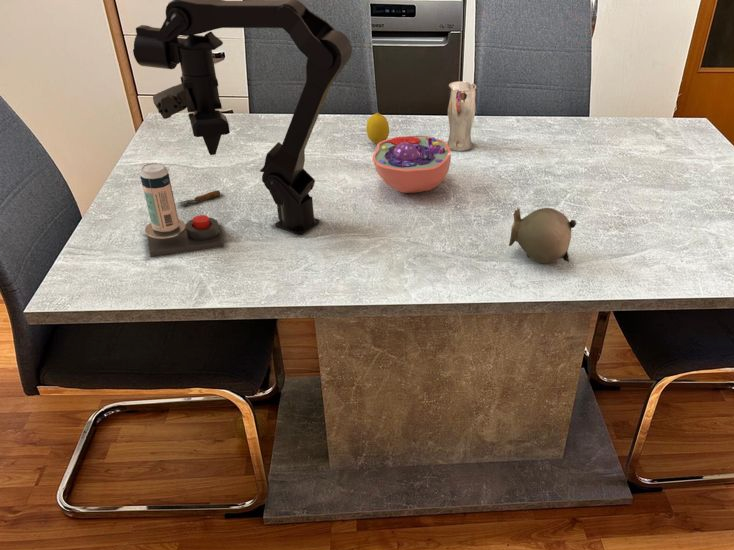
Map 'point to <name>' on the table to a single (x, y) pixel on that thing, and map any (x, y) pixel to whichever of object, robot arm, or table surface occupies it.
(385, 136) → the lemon
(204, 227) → the button
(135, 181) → the table surface
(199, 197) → the can opener
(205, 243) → the warmer
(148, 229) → the warming plate
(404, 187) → the cell model
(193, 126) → the robot arm
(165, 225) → the beer can
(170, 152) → the table surface
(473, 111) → the cream vase
